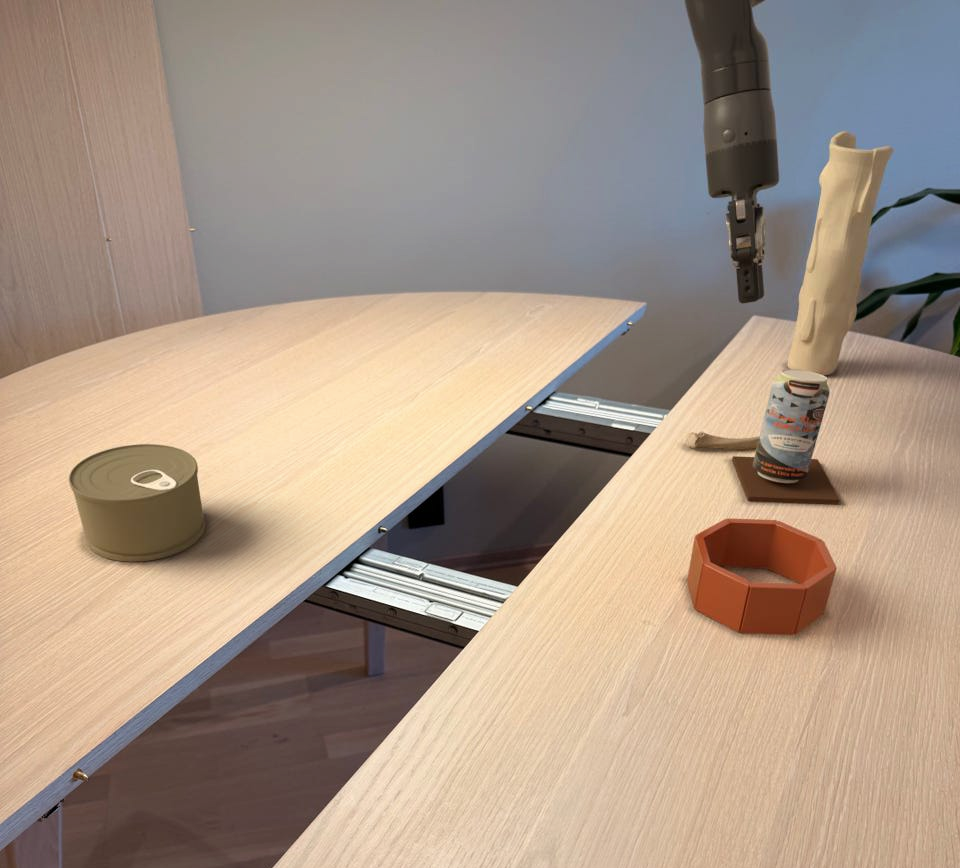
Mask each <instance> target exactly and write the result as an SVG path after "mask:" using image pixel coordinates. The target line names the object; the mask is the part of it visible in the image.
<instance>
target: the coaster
mask: <svg viewBox="0 0 960 868" xmlns="http://www.w3.org/2000/svg"><path fill="white" fill-rule="evenodd" d="M754 457H755V456H737V455H735V456H734V455H733V456H732V458H731V462H732V465H733V466H734V467H733V468H734V469H735V473H736V474H737V477H738V479H739V482H740V485H741V488H742V489H743V493H744V495H745V497H746V500H747V502H763V503H788V504H789V503H792V504H793V503H794V504H795V503H796V504H820V505H821V504H822V505H825V504H826V505H840V502H841V498H840V497H839V495H838V493H837V492H836V490H835V488H834V486H833V484H832V482H831V481H830V478H829V477H828V475H827V473H826V472H825V470H824V468H823V466H822V465H821V463H820V461H819V459H818V458H812V459H811V463H810V466H809V470H808V474H807V476H806V477H805V478H803V479H800V480H798V481H797V482H795V483H780V482H775V481H771V480H768V479H765V478H763V477H761V476H760V475H759V474H758V471H756V470H755V469H754V468H753V461H754Z"/></svg>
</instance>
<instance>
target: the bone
mask: <svg viewBox="0 0 960 868" xmlns="http://www.w3.org/2000/svg"><path fill="white" fill-rule="evenodd" d="M759 437H760V435H759V436H751V437H741V438H738V437H737V438H731V437H722V436H719V435H718V436H717V435H712V434H709V433H707V432H704V431H700V432H698V433H697V432H693V431H691V432H689V433H688V434H687V435H686V439H685V443H686V446H687V447H688V448H689V449H699V448H711V449H715V448H718V449H727V450H748V449H749V450H751V449H754V448H757V445H758V441H759Z"/></svg>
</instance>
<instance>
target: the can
mask: <svg viewBox="0 0 960 868" xmlns="http://www.w3.org/2000/svg"><path fill="white" fill-rule="evenodd" d="M198 471H199V467H198V462H197V460H196V458H195V457H194V455H192V454H190V453H189V452H188V451H186V450H184V449H181V448H178V447H174V446H170V445H165V444H154V443H141V444H140V443H139V444H129V445H122V446H121V445H120V446H117V447H113V448H112V447H111V448H108V449H105V450H101V451H99V452H97V453H94V454H91V455H90V456H87V457H86V458H84V459H82V460H81V461H79V462H78V463H77V464H75V466H74V467H73V468H72V469H71V471H70V473H69V474H68V482H69V483H68V484H69V486H70V489H71V490H72V492H73V496H74V499H75V502H76V507H77V510H78V515H79V518H80V522H81V526H82V530H83V533H84V538H85V542H86V544H87V547H88V548H89V549H90V551H92V552H93V553H95V554H96V555H97V556H99V557H102V558H105V559H108V560H112V561H118V562H131V563H132V562H134V563H135V562H148V561H154V560H160V559H163V558H168V557H171V556H174V555H176V554H179V553H181V552H183V551H185V550H186V549H189V548H190V547H192V546H193V545H194V544H195V543H197V542H198V541H199V540H200V538H201V537H202V536H203V534H204V532H205V530H206V529H205V528H206V522H205V518H204V512H203V504H202V498H201V493H200V492H201V491H200V486H199V485H200V483H199V478H198Z"/></svg>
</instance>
